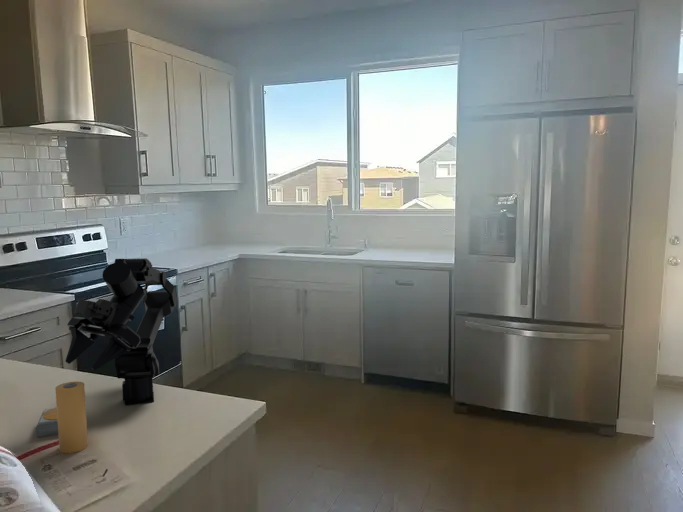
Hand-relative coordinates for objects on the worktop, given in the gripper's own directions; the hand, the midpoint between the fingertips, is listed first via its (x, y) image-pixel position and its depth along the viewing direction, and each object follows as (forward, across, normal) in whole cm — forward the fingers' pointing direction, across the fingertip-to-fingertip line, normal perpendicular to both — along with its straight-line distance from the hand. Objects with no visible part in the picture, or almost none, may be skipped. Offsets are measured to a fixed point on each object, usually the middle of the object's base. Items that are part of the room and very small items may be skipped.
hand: (79, 365), depth 110 cm
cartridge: (+14, +7, +5) cm, 17 cm away
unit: (+11, -4, +8) cm, 14 cm away
